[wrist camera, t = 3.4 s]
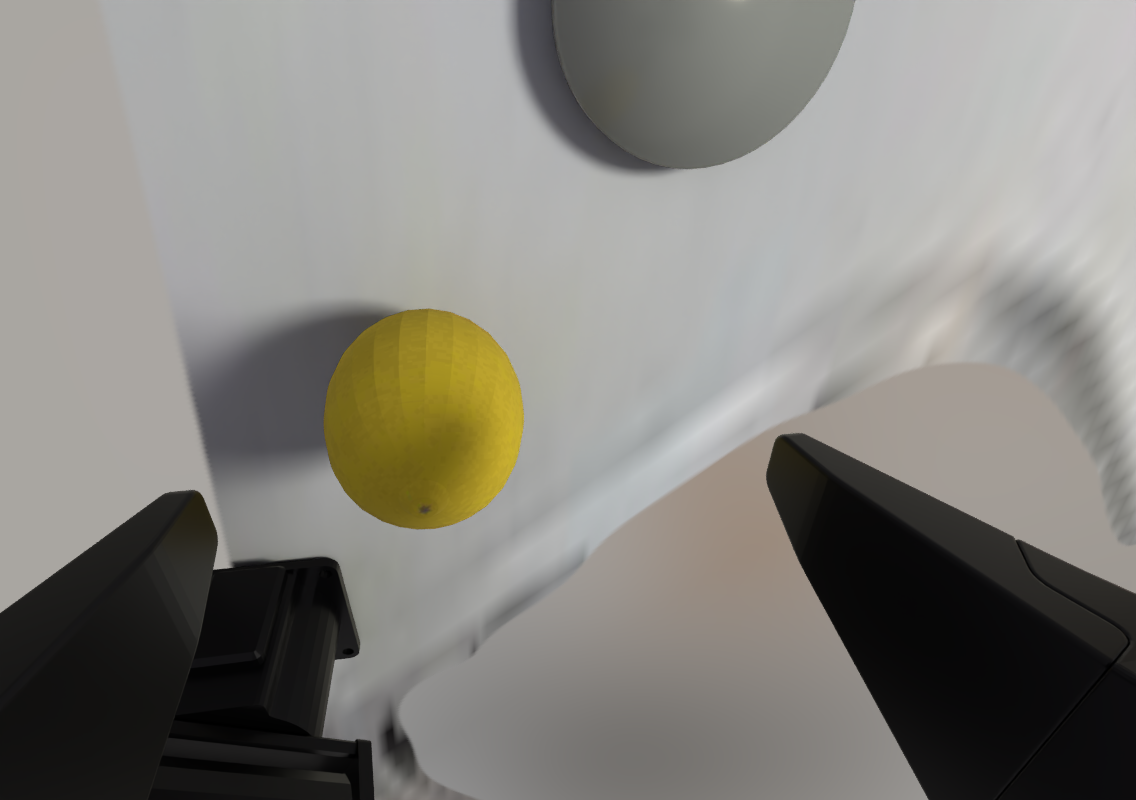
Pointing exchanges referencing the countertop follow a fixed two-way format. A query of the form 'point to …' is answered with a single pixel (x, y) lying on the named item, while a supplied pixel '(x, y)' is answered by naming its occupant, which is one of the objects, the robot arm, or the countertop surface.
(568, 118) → the countertop surface
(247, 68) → the countertop surface
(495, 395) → the lemon
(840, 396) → the countertop surface
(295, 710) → the robot arm
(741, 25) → the coaster
